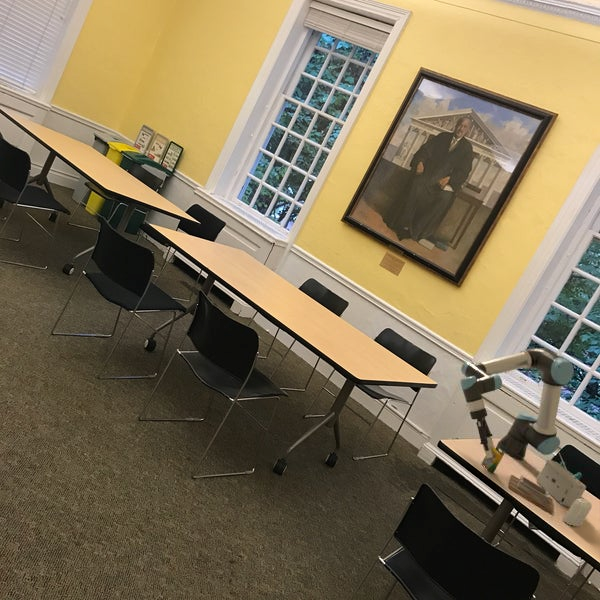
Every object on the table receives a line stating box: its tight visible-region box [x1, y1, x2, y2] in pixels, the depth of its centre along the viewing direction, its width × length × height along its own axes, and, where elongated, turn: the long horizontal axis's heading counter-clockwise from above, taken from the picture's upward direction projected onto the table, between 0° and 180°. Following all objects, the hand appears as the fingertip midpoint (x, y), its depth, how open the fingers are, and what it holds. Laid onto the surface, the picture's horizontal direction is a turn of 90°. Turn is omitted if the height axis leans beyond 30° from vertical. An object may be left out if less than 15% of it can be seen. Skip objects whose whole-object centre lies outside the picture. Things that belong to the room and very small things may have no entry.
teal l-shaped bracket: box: [559, 461, 583, 481], centre depth 312 cm, size 18×11×10 cm, turn 157°
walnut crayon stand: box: [507, 474, 554, 515], centre depth 265 cm, size 18×20×4 cm
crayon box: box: [481, 445, 506, 474], centre depth 272 cm, size 7×3×12 cm, turn 10°
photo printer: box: [562, 498, 593, 527], centre depth 253 cm, size 10×4×12 cm, turn 119°
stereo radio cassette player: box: [536, 448, 587, 509], centre depth 280 cm, size 21×8×20 cm, turn 16°
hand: (491, 454), depth 271 cm, fingers open, 13 cm apart
